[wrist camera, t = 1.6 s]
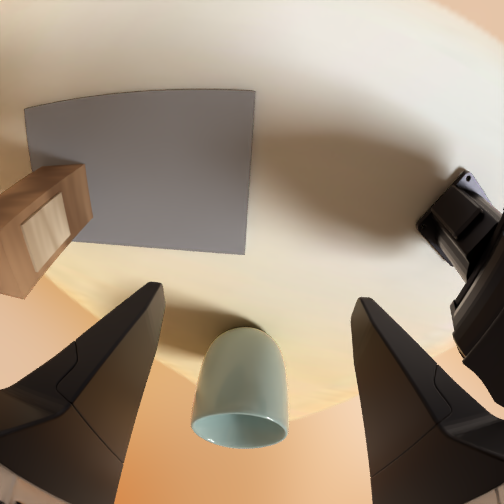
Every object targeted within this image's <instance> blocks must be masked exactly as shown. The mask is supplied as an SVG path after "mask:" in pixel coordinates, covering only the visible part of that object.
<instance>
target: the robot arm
mask: <svg viewBox="0 0 504 504" xmlns="http://www.w3.org/2000/svg"><path fill="white" fill-rule="evenodd" d="M467 176H468V179H467V180H466V177H467ZM503 210H504V209H503ZM423 224H424V226H423V227H421V226H422V225H423ZM416 228H417V229H418V231H419V232H420V233H421V234H422V235H423V236H424V237H425V238H426V239H427V240H428V241H429V242H430V244H431V245H432V246H433V247H434V248H435V249H436V250H437V251H438V252H439V253H440V254H441V256H442V257H443V258H444V259H445V260H446V261H447V262H448V263H449V265H450V266H454V267H455V268H456V270H457V271H458V273H459V274H460V276H461V277H462V279H463V280H464V282H465V283H466V284H465V285H464V287H463V289H462V290H461V292H460V293H459V295H458V296H457V298H456V300H453V302H452V304H451V305H450V309H451V315H452V320H453V326H454V332H453V339H454V341H455V343H456V345H457V348H458V350H459V353H460V354H461V356H462V357H463V358H464V359H463V361H462V362H463V364H464V365H465V366H467V367H468V368H470V369H471V370H472V371H473V372H474V373H475V374H476V375H477V376H478V377H479V378H480V379H481V380H482V382H483V383H484V385H485V386H486V388H487V389H488V391H489V393H490V395H491V396H492V398H493V400H494V401H495V402H496V403H497V404H499V405H501V406H502V407H504V212H503V214H501V213H500V212H499V211H498V210H497V209H496V208H495V207H493V206H492V204H491V202H490V201H489V199H488V197H487V196H486V194H485V193H484V191H483V190H482V188H481V186H480V185H479V183H478V182H477V180H476V179H475V177H474V176H473V174H472V173H470V172H469V171H464V172H463V173H462V174H461V175H460V176H459V178H458V179H457V180H456V181H455V182H454V183H453V184H452V185H451V187H450V188H449V189H448V190H447V191H446V192H445V193H444V194H443V195H442V196H441V197H440V199H439V200H438V201H437V202H436V203H435V204H434V205H433V206H432V207H431V208H430V209H429V210H428V211H427V212H426V213H425V214H424V216H423V217H422V218H421V219H420V220H419V221H418V222H417V224H416ZM164 311H165V298H164V291H163V286H162V284H161V283H158V282H148V283H147V284H146V285H144V286H143V287H142V288H140V289H139V290H138V291H136V292H135V293H134V294H133V295H131V296H130V297H129V298H127V299H126V300H125V301H124V302H122V303H121V304H120V305H118V306H117V307H116V308H115V309H113V310H112V311H111V312H110V313H108V314H107V315H106V316H104V317H103V318H102V319H101V320H99V321H98V322H97V323H96V324H95V325H93V326H92V327H91V328H90V329H88V330H87V331H86V332H85V333H83V334H82V335H81V336H80V337H78V338H77V339H76V342H75V341H73V342H72V343H71V344H70V345H68V346H67V347H66V348H65V349H63V350H62V351H61V352H60V353H58V354H57V355H56V356H54V357H53V358H52V359H50V360H49V361H48V362H46V363H45V364H43V365H42V366H40V367H39V368H37V369H36V370H34V371H33V372H32V373H30V374H28V375H27V376H25V377H24V378H23V379H21V380H20V381H18V382H17V383H15V384H14V385H12V386H10V387H8V388H5V389H1V390H0V504H114V501H115V497H116V492H117V488H118V484H119V480H120V476H121V472H122V468H123V463H124V460H125V456H126V452H127V448H128V445H129V441H130V437H131V434H132V430H133V426H134V423H135V419H136V416H137V412H138V408H139V406H140V402H141V399H142V395H143V392H144V388H145V385H146V382H147V379H148V376H149V373H150V369H151V366H152V363H153V360H154V357H155V353H156V350H157V346H158V341H159V336H160V331H161V326H162V321H163V316H164ZM351 331H352V344H353V358H354V366H355V372H356V378H357V384H358V390H359V396H360V402H361V408H362V415H363V421H364V428H365V436H366V443H367V451H368V459H369V468H370V477H371V489H372V501H373V504H504V420H502V419H499V418H497V417H495V416H493V415H492V414H490V413H489V412H488V411H487V410H486V409H485V408H484V407H482V406H481V405H480V404H479V403H478V402H477V401H476V400H475V399H473V398H472V397H471V396H470V395H469V394H468V393H467V392H466V391H465V390H463V389H462V388H461V387H460V386H459V385H458V384H457V383H456V382H455V381H454V380H453V379H452V378H451V377H450V376H449V375H448V374H447V373H446V372H445V371H444V370H443V369H442V368H441V367H440V366H439V365H437V363H436V362H435V361H434V360H433V359H432V358H431V357H430V356H429V355H428V354H427V353H426V352H425V351H424V350H423V349H422V348H421V347H420V345H419V344H418V343H417V342H416V341H415V340H414V339H413V338H412V337H411V336H410V335H409V334H408V333H407V332H406V331H405V330H404V329H403V328H402V327H401V326H400V325H398V324H397V323H396V322H395V321H394V320H393V319H392V318H391V317H390V316H389V315H388V314H387V313H386V312H385V311H384V310H383V309H382V308H381V307H380V306H379V305H378V304H377V303H376V302H375V301H374V300H373V299H372V298H369V297H360V298H358V300H357V302H356V305H355V307H354V310H353V313H352V316H351Z"/></svg>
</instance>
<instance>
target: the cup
mask: <svg viewBox="0 0 504 504" xmlns="http://www.w3.org/2000/svg"><path fill="white" fill-rule="evenodd" d="M191 428H192V429H193V431H194V432H195V433H196V434H197V435H198V436H200V437H201V438H203V439H204V440H206V441H209V442H211V443H214V444H217V445H220V446H224V447H229V448H238V449H249V448H261V447H266V446H270V445H274V444H277V443H279V442H281V441H282V440H284V439H285V438H286V436H287V435H288V430H289V405H288V383H287V373H286V367H285V362H284V358H283V355H282V352H281V350H280V348H279V346H278V345H277V343H276V342H275V341H274V339H273V338H272V337H271V336H269V335H268V334H266V333H265V332H263V331H261V330H259V329H256V328H252V327H239V328H234V329H231V330H228V331H226V332H224V333H222V334H220V335H219V336H218V337H217V338H216V339H215V340H214V341H213V342H212V343H211V345H210V346H209V348H208V350H207V352H206V354H205V357H204V359H203V362H202V365H201V369H200V373H199V377H198V381H197V386H196V391H195V397H194V402H193V407H192V414H191Z"/></svg>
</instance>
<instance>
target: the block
mask: <svg viewBox="0 0 504 504" xmlns="http://www.w3.org/2000/svg"><path fill="white" fill-rule="evenodd" d="M92 218H93V213H92V207H91V201H90V195H89V189H88V183H87V176H86V168H85V164H72V165H54V166H42V167H40V168H38V169H37V170H35V171H34V172H32V173H31V174H29V175H28V176H26V177H25V178H23V179H22V180H20V181H19V182H17V183H16V184H14V185H13V186H11V187H10V188H8V189H7V190H6V191H4V192H3V193H1V194H0V294H4V295H8V296H12V297H16V298H20V299H25V298H26V297H27V295H28V294H29V293H30V291H31V290H32V288H33V287H34V286H35V284H36V283H37V282H38V281H39V280H40V278H41V277H42V276H43V275H44V273H45V272H46V271H47V270H48V268H49V267H50V266H51V265H52V263H53V262H54V261H55V260H56V259H57V257H58V256H59V255H60V254H61V253H62V252H63V250H64V249H65V248H66V247H67V246H68V245H69V243H70V242H71V241H72V240H73V239H74V238H75V237H76V236H77V234H78V233H79V232H80V231H81V230H82V229H83V228H84V227H85V226H86V225H87V223H88V222H89V221H90V220H91V219H92Z"/></svg>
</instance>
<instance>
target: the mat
mask: <svg viewBox="0 0 504 504" xmlns="http://www.w3.org/2000/svg"><path fill="white" fill-rule="evenodd" d="M254 104H255V91H245V90H218V89H181V90H155V91H139V92H127V93H116V94H107V95H99V96H91V97H84V98H77V99H71V100H65V101H60V102H54V103H49V104H44V105H39V106H35V107H30V108H26V109H24V112H25V123H26V132H27V140H28V147H29V154H30V160H31V166H32V172H34V171H35V170H37V169H38V168H40V167H42V166H54V165H72V164H85V168H86V176H87V183H88V189H89V195H90V201H91V207H92V213H93V218H92V219H91V220H90V221H89V222H88V223H87V225H86V226H85V227H84V228H83V229H82V230H81V231H80V232H79V233H78V234H77V236H76V237H75V238H74V239H73V240H72V241H74V242H86V243H99V244H111V245H124V246H136V247H149V248H161V249H174V250H186V251H199V252H212V253H225V254H238V255H245V242H246V226H247V210H248V194H249V179H250V163H251V148H252V133H253V119H254Z"/></svg>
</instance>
